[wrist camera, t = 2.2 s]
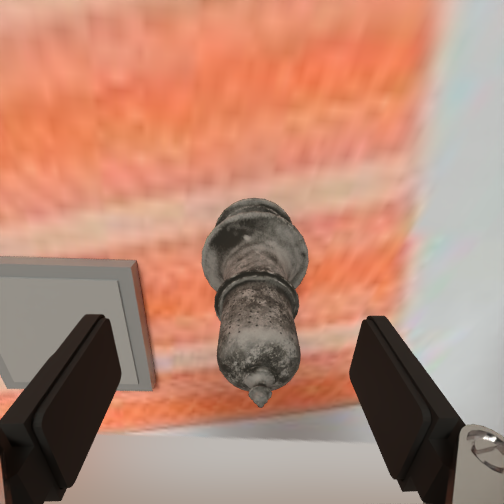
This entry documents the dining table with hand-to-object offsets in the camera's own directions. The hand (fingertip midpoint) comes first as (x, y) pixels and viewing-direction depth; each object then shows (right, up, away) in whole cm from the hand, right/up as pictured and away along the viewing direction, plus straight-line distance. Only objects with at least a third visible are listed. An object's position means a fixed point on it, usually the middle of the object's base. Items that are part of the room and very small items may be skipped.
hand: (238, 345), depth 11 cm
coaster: (-14, -2, +11) cm, 18 cm away
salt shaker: (+1, +5, +8) cm, 9 cm away
